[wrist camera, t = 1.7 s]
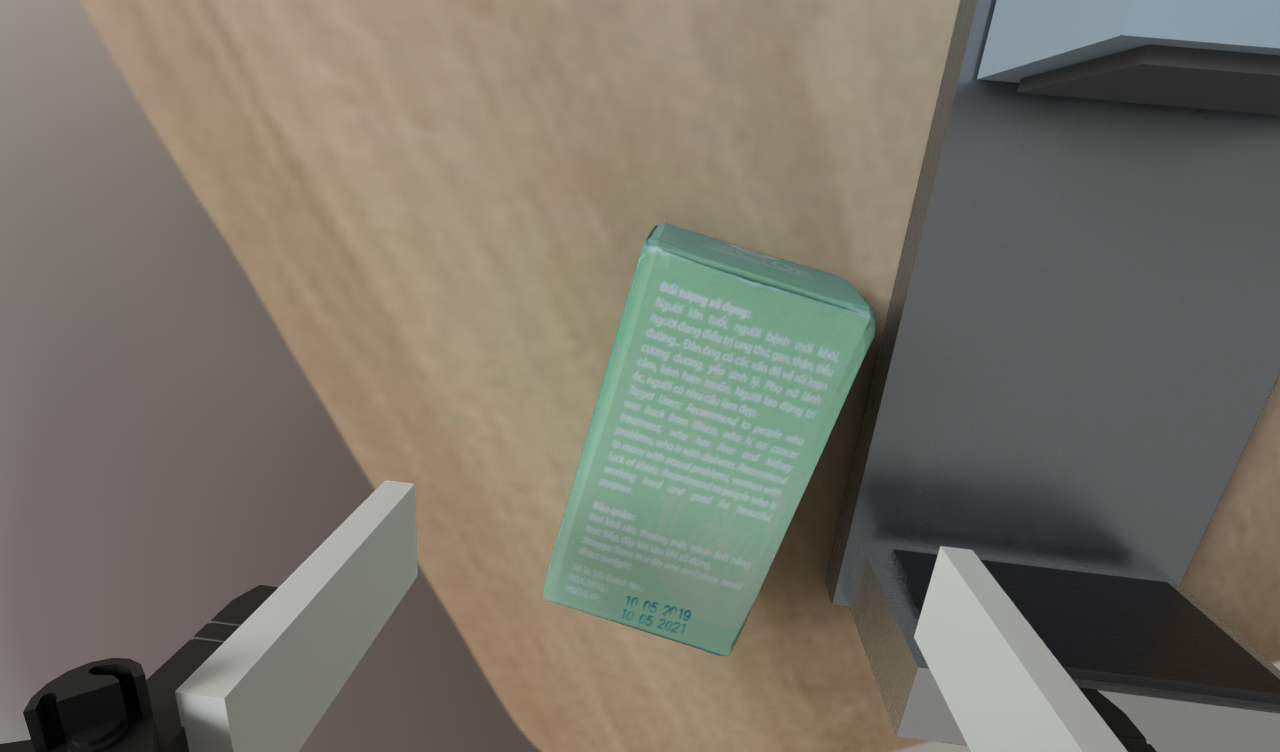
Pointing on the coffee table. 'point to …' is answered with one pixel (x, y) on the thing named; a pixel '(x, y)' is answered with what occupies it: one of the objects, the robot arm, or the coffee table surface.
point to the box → (704, 436)
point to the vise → (1071, 395)
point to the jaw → (1140, 51)
